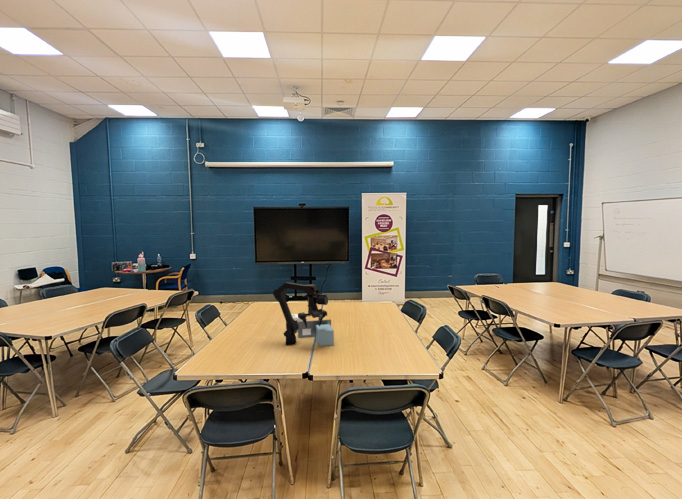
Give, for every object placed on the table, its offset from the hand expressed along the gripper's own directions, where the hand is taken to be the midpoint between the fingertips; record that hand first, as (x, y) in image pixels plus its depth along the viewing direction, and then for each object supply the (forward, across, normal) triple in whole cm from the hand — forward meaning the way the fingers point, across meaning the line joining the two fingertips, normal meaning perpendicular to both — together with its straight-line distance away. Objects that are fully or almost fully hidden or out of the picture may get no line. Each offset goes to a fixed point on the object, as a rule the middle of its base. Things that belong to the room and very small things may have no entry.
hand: (313, 327), depth 207 cm
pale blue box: (+13, +9, +4) cm, 16 cm away
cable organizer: (+13, -1, +38) cm, 40 cm away
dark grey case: (+13, +8, +9) cm, 18 cm away
